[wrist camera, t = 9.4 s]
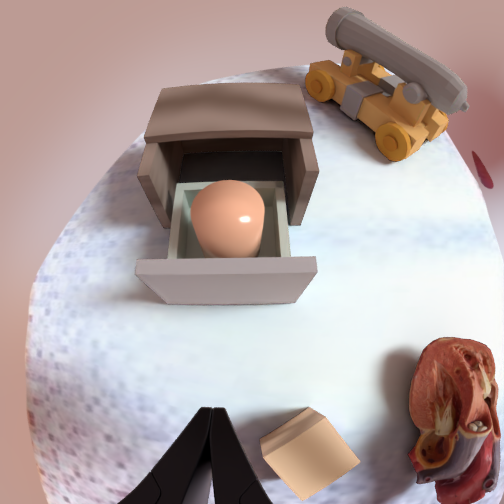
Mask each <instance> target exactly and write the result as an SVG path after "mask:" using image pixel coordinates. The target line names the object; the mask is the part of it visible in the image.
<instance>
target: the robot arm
mask: <svg viewBox="0 0 504 504" xmlns="http://www.w3.org/2000/svg"><path fill="white" fill-rule="evenodd" d="M151 472H152V473H151ZM151 472H149V473H148V474H147V476H146V477H145V478H144V479H143V480H142V481H141V482H140V484H139V485H138V486H137V487H136V488H135V489H134V490H133V491H132V492H130V493H129V494H128V495H127V496H126V497H125V498H124V499H122V500H121V501H120V502H119V503H118V504H208V498H209V492H210V486H211V480H212V479H213V489H214V499H215V504H273V503H272V502H271V500H270V499H269V497H268V496H267V494H266V492H265V491H264V489H263V487H262V485H261V483H260V481H259V480H258V478H257V476H256V474H255V472H254V470H253V468H252V466H251V464H250V462H249V460H248V458H247V456H246V453H245V451H244V449H243V447H242V445H241V443H240V441H239V439H238V436H237V434H236V432H235V430H234V427H233V425H232V423H231V421H230V418H229V416H228V414H227V411H226V409H225V408H223V407H214V408H212V407H201V408H200V409H199V410H198V412H197V413H196V414H195V415H194V417H193V418H192V419H191V421H190V422H189V423H188V425H187V426H186V427H185V429H184V430H183V431H182V432H181V434H180V435H179V436H178V438H177V439H176V440H175V441H174V443H173V444H172V445H171V446H170V448H169V449H168V450H167V451H166V453H165V454H164V455H163V456H162V458H161V459H160V460H159V461H158V463H157V464H156V465H155V466H154V467H153V469H152V470H151Z"/></svg>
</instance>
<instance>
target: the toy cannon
mask: <svg viewBox="0 0 504 504" xmlns="http://www.w3.org/2000/svg"><path fill="white" fill-rule="evenodd" d="M326 37H327V40H328V42H329V43H331V44H332V45H333V46H335V47H337V48H339V49H341V50H345V51H344V55H343V59H342V63H341V67H340V66H339V65H337V64H335V63H334V62H332V61H330V60H326V61H321V62H315V63H311V64H310V68H309V73H308V74H307V75H306V78H305V85H306V88H307V91H308V93H309V94H310V96H312V97H313V98H314V99H316V100H317V101H319V102H324V101H327V100H330V99H331V98H332V99H333V100H335V101H336V102H337V103H339V104H340V105H341V107H340V110H341V111H343V112H344V113H345V114H347V115H348V116H349V117H351V118H352V119H353V120H354V121H355V120H357V119H360V120H361V121H362V122H363V123H365V124H366V125H367V126H368V127H370V128H371V129H372V130H373V131H374V132H376V134H375V140H376V144H377V147H378V149H379V151H380V152H381V153H382V154H383V155H385V156H386V157H387V158H388V159H389V160H392V161H395V162H396V161H401V160H403V159H406V158H407V157H409V156H410V155H412V154H413V153H415V152H416V151H418V150H419V148H420V147H421V145H422V144H423V142H424V141H425V139H428V140H429V141H430V142H431V141H432V140H434V139H435V138H437V137H438V136H439V135H440V134H441V133H443V132H444V131H445V130H446V129H447V126H448V121H449V120H448V118H447V116H446V114H448V115H449V114H452V113H455V112H457V111H459V110H462V111H463V112H466V111H467V109H468V108H469V104H468V103H467V102H466V99H467V86H466V85H465V84H464V82H463V81H462V80H461V79H460V78H459V76H458V75H456V74H455V73H454V72H453V71H451V70H450V69H449V68H447V67H446V66H445V65H443V64H442V63H440V62H438V61H437V60H435V59H433V58H431V57H430V56H428V55H426V54H424V53H423V52H421V51H420V50H418V49H416V48H414V47H412V46H411V45H409V44H407V43H406V42H404V41H403V40H401V39H400V38H398V37H396V36H395V35H393V34H391V33H390V32H388V31H386V30H385V29H383V28H382V27H381V26H379V25H377V24H376V23H374V22H373V21H371V20H369V19H367V18H365V17H364V15H363V14H362V13H361V12H359V11H356V10H354V9H351V8H348V7H343V8H339V9H338V10H336V11H335V12H333V14H332V15H331V16H330V18H329V19H328V22H327V25H326ZM384 68H386V69H388V70H389V71H391V72H392V73H394V74H395V75H390V74H389V73H387V72H386V71H385V69H384Z"/></svg>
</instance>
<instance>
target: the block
mask: <svg viewBox="0 0 504 504" xmlns="http://www.w3.org/2000/svg"><path fill="white" fill-rule="evenodd" d="M259 440H260V445H261V450H262V455H263V458H264V459H265V461H266V462H267V463H268V464H269V465H270V467H271V468H272V469H273V470H274V471H275V472H276V473H277V475H278V476H279V477H280V478H281V479H282V480H283V481H284V482H285V483H286V485H287V486H288V487H289V488H290V489H291V490H292V491H293V492H294V493H295V494H296V495H297V496H298V497H299V498H300V499H301V500H302V501H303V500H305V499H307V498H309V497H310V496H312V495H314V494H315V493H317V492H318V491H320V490H322V489H323V488H325V487H326V486H328V485H329V484H331V483H332V482H334V481H335V480H337V479H338V478H340V477H341V476H343V475H344V474H345V473H347V472H348V471H349V470H351V469H352V468H354V467H355V466H356V465H357V464H359V463H360V460H359V459H358V458H357V457H356V455H355V454H354V453H353V452H352V450H351V449H350V448H349V447H348V445H347V444H346V443H345V441H344V440H343V439H342V438H341V436H340V435H339V434H338V432H337V431H336V430H335V428H334V427H333V426H332V424H331V423H330V422H329V421H328V419H327V418H326V417H325V416H323V415H322V414H320V413H318V412H317V411H315V410H313V409H312V408H310V407H309V408H307V409H306V410H304V411H303V412H301V413H300V414H298V415H297V416H295V417H294V418H293V419H291V420H289V421H288V422H286V423H285V424H283V425H282V426H280V427H279V428H277V429H275V430H274V431H272V432H271V433H269V434H267V435H266V436H264V437H262V438H260V439H259Z"/></svg>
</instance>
